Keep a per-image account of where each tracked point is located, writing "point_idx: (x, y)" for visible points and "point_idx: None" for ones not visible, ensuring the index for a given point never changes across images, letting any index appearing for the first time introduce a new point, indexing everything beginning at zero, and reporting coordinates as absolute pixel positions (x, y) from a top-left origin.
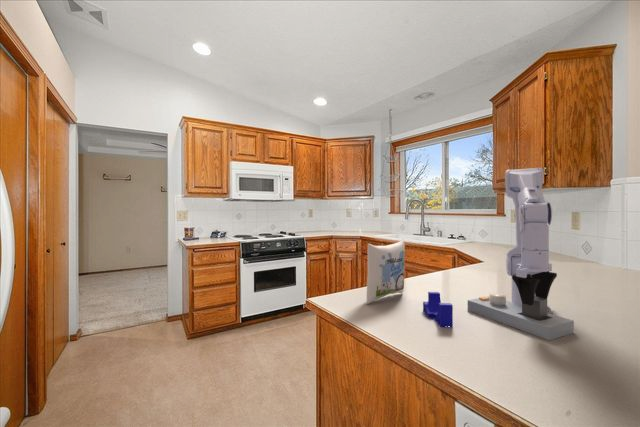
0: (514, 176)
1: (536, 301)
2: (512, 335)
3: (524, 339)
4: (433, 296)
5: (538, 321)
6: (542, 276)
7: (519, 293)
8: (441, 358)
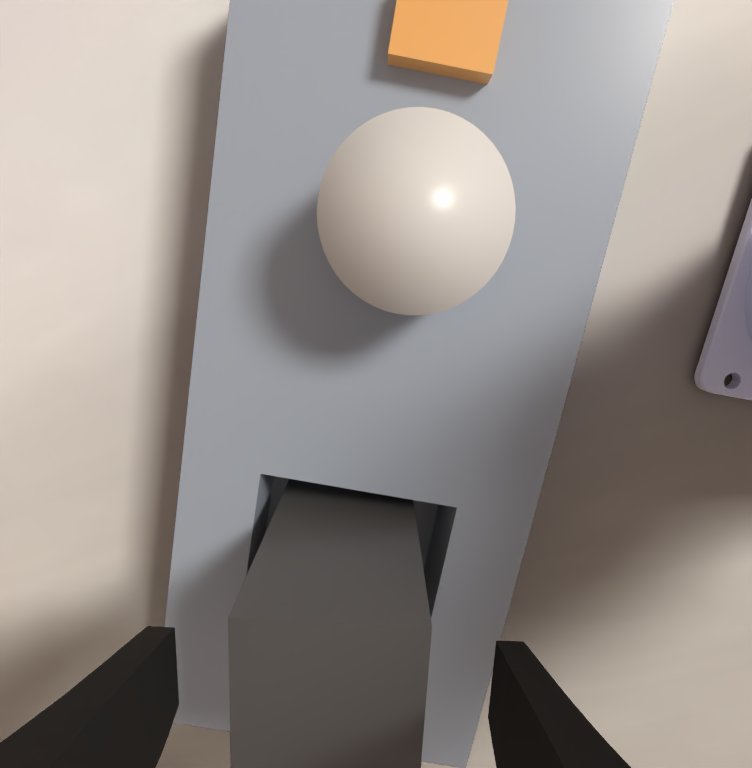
0: None
1: (230, 747)
2: (60, 504)
3: (69, 569)
4: None
5: (216, 644)
6: None
7: (58, 699)
8: None
